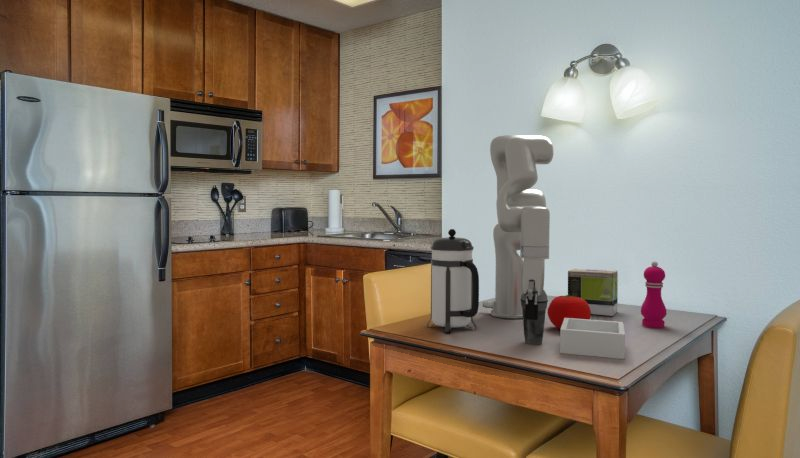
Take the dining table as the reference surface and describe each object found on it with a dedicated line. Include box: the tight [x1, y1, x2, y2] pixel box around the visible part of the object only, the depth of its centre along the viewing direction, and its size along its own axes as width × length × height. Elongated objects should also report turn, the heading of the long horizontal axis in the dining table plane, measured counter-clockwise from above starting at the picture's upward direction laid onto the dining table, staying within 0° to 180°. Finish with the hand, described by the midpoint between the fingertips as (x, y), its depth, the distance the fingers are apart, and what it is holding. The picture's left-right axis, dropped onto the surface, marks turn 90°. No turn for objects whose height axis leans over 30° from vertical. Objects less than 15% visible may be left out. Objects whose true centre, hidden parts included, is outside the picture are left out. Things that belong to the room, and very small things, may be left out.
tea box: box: [567, 268, 619, 317], centre depth 188 cm, size 15×10×15 cm
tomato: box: [547, 293, 592, 329], centre depth 162 cm, size 11×12×10 cm
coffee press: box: [426, 228, 480, 334], centre depth 161 cm, size 17×16×30 cm
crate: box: [559, 318, 626, 360], centre depth 140 cm, size 15×15×6 cm
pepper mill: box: [640, 261, 668, 329], centre depth 166 cm, size 7×7×20 cm
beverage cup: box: [520, 285, 549, 346], centre depth 146 cm, size 7×7×20 cm
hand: (533, 315), depth 146 cm, fingers open, 9 cm apart
